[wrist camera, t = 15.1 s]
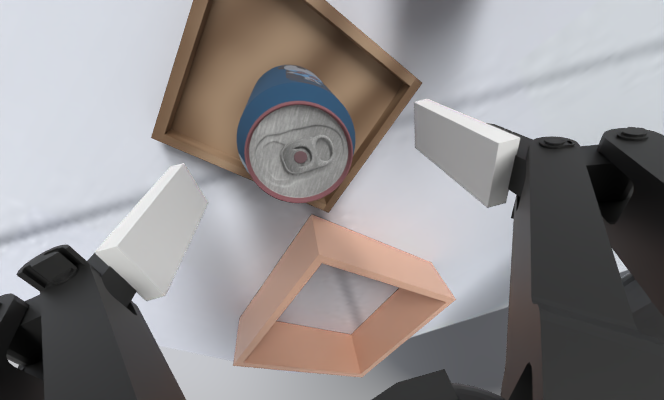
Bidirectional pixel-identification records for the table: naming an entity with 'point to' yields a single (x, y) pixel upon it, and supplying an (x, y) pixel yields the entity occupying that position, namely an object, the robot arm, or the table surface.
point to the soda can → (295, 136)
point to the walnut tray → (264, 54)
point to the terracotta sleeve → (328, 346)
